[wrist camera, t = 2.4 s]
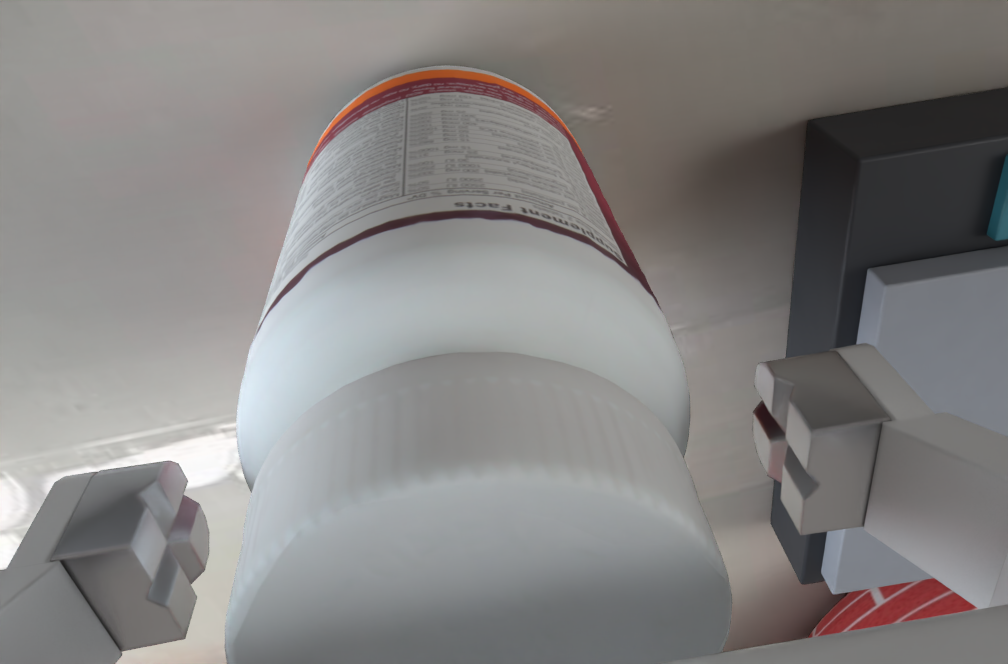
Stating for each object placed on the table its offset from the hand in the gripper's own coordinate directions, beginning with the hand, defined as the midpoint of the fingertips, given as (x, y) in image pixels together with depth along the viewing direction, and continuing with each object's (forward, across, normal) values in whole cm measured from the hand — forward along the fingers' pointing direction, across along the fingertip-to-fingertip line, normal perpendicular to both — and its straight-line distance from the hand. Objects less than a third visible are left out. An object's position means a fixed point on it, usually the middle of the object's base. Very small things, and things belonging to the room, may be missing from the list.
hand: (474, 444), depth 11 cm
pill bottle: (+8, 0, 0) cm, 8 cm away
